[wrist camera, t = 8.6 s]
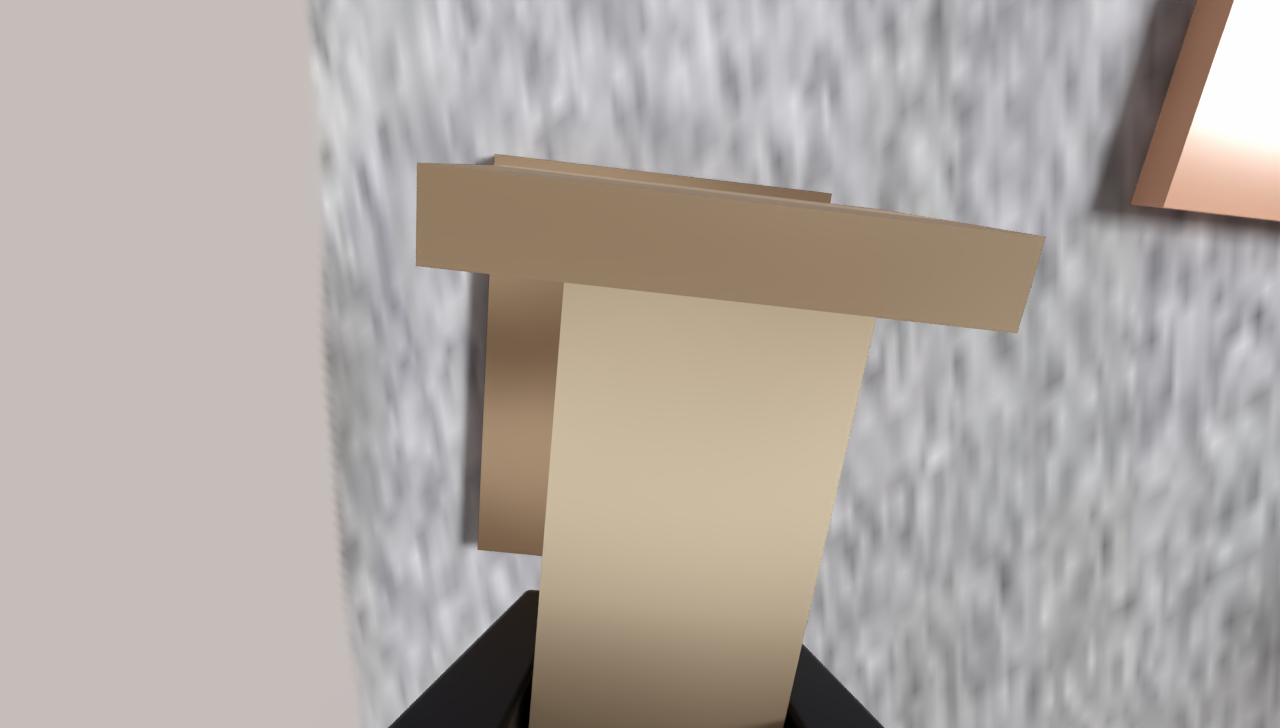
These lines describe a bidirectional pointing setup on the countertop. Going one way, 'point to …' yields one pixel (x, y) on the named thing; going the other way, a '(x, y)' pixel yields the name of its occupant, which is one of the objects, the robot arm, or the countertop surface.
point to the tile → (1220, 117)
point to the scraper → (699, 414)
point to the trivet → (539, 377)
